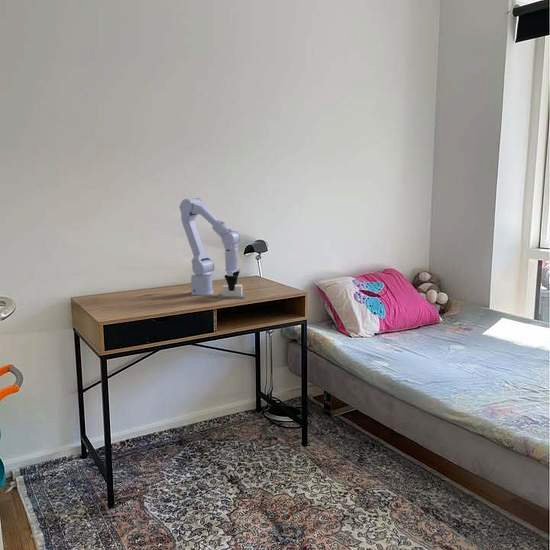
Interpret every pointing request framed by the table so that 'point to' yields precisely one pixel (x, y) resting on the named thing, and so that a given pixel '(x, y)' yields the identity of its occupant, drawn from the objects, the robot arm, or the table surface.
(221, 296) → the mat
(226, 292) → the white rectangular block
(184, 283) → the table surface
